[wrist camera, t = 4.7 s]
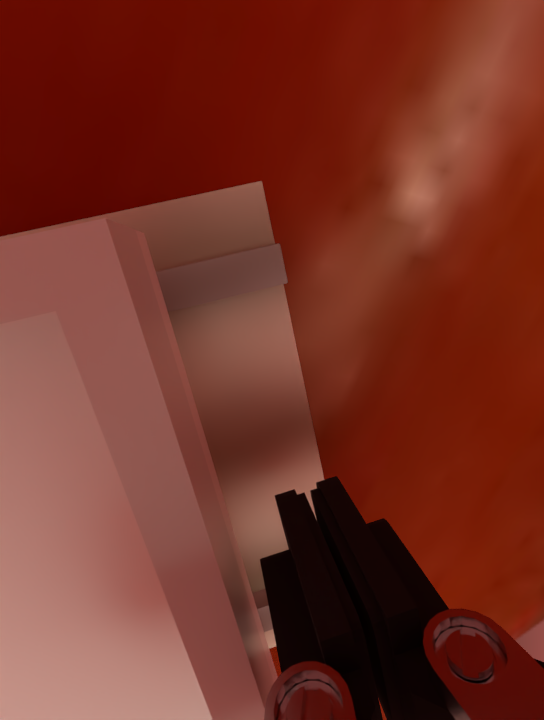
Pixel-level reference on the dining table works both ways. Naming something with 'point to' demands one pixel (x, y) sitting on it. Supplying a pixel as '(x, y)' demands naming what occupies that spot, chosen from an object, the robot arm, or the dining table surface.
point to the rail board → (235, 356)
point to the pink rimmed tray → (111, 500)
